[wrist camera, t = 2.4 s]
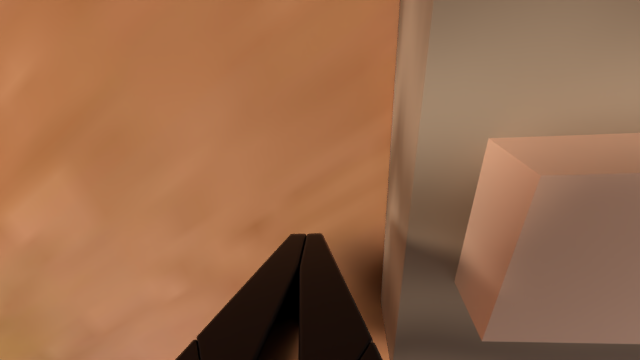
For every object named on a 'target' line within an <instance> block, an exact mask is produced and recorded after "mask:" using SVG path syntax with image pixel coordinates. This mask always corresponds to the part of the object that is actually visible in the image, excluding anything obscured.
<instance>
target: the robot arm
mask: <svg viewBox="0 0 640 360" xmlns="http://www.w3.org/2000/svg"><path fill="white" fill-rule="evenodd" d="M175 360H382V358H381V356H380V353H379V351H378V349H377V347H376V345H375V343H373V340H372V337H371V335H370V333H369V331H368V329H367V327H366V325H365V322H364V320H363V318H362V316H361V314H360V312H359V310H358V308H357V306H356V304H355V301H354V299H353V297H352V295H351V293H350V291H349V289H348V287H347V285H346V283H345V280H344V278H343V276H342V274H341V272H340V270H339V268H338V266H337V264H336V262H335V259H334V257H333V255H332V253H331V251H330V249H329V247H328V245H327V243H326V241H325V238H324V236H323V235H322V234H320V233H315V234H307V236H306V234H291V235H290V236H289V237H288V238H287V239H286V240H285V241H284V242H283V243H282V244H281V245H280V246H279V248H278V249H277V250H276V251H275V252H274V253H273V254H272V255H271V256H270V257H269V258H268V260H267V261H266V262H265V263H264V264H263V265H262V266H261V267H260V268H259V269H258V270H257V272H256V273H255V274H254V275H253V276H252V277H251V278H250V279H249V280H248V281H247V282H246V284H245V285H244V286H243V287H242V288H241V289H240V290H239V291H238V292H237V293H236V294H235V296H234V297H233V298H232V299H231V300H230V301H229V302H228V303H227V304H226V305H225V306H224V308H223V309H222V310H221V311H220V312H219V313H218V314H217V315H216V316H215V317H214V318H213V320H212V321H211V322H210V323H209V324H208V325H207V326H206V327H205V328H204V329H203V330H202V332H201V333H200V334H199V335H198V336H197V340H193V341H192V342H191V343H190V344H189V345H188V347H187V348H186V349H185V350H184V351H183V352H182V353H181V354H180V355H179V356H178V357H177V358H176V359H175Z"/></svg>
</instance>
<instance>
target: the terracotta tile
mask: <svg viewBox="0 0 640 360" xmlns="http://www.w3.org/2000/svg"><path fill="white" fill-rule="evenodd" d="M454 282H455V285H456V287H457V289H458V291H459V293H460V295H461V297H462V300H463V302H464V304H465V306H466V308H467V310H468V313H469V315H470V317H471V319H472V321H473V323H474V325H475V328H476V330H477V332H478V334H479V336H480V338H481V340H482V341H494V342H549V343H604V344H640V133H621V134H593V135H566V136H538V137H511V138H488V142H487V147H486V151H485V155H484V159H483V163H482V167H481V172H480V176H479V180H478V184H477V188H476V193H475V197H474V201H473V205H472V209H471V214H470V218H469V222H468V226H467V230H466V235H465V239H464V243H463V247H462V251H461V255H460V260H459V264H458V268H457V272H456V276H455V281H454Z"/></svg>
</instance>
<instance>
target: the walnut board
mask: <svg viewBox="0 0 640 360" xmlns="http://www.w3.org/2000/svg"><path fill="white" fill-rule="evenodd" d="M621 133H640V0H400V9H399V25H398V40H397V56H396V71H395V87H394V102H393V118H392V133H391V149H390V164H389V180H388V195H387V211H386V226H385V241H384V257H383V272H382V288H381V308H382V314H383V320H384V327H385V333H386V339H387V345H388V352H389V358H390V360H640V344H604V343H549V342H494V341H482V340H481V338H480V336H479V334H478V332H477V330H476V328H475V325H474V323H473V321H472V319H471V317H470V315H469V313H468V310H467V308H466V306H465V304H464V302H463V300H462V297H461V295H460V293H459V291H458V289H457V287H456V285H455V282H454V281H455V276H456V272H457V268H458V264H459V260H460V255H461V251H462V247H463V243H464V239H465V235H466V230H467V226H468V222H469V218H470V214H471V209H472V205H473V201H474V197H475V193H476V188H477V184H478V180H479V176H480V172H481V167H482V163H483V159H484V155H485V151H486V147H487V142H488V138H511V137H538V136H566V135H593V134H621Z"/></svg>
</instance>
